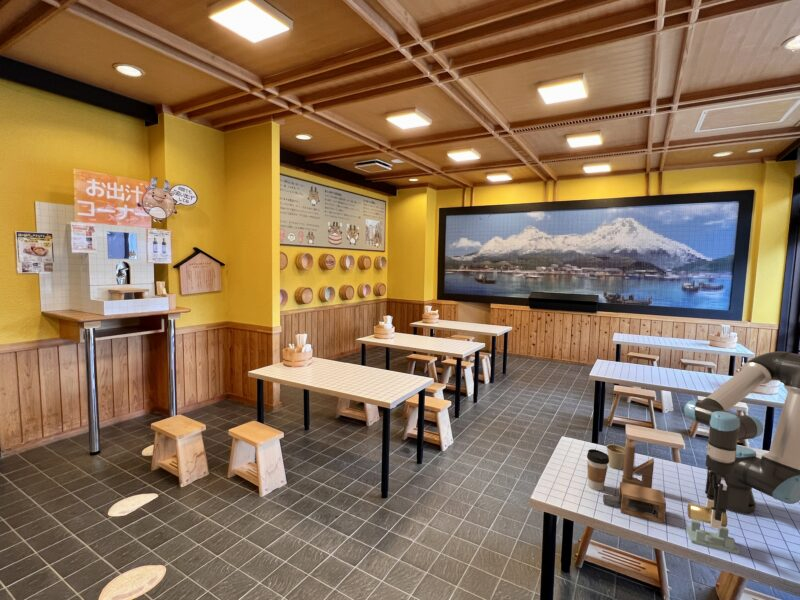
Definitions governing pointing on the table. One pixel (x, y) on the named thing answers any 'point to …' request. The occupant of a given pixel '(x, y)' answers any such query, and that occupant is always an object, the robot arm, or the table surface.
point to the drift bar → (632, 504)
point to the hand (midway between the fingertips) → (712, 522)
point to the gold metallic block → (703, 514)
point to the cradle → (711, 538)
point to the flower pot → (616, 456)
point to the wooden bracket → (637, 469)
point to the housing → (643, 495)
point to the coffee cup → (597, 469)
